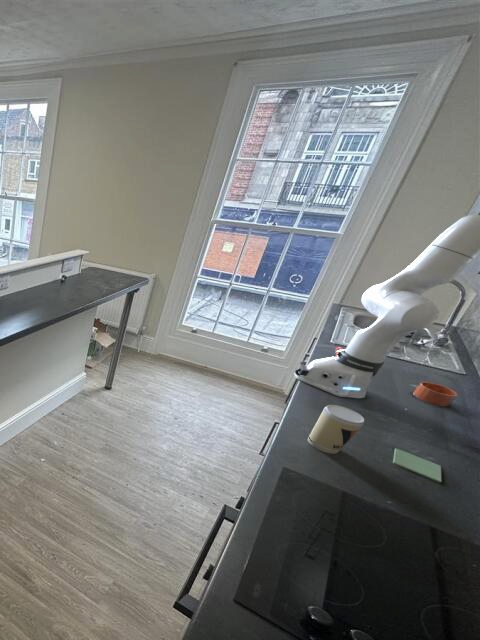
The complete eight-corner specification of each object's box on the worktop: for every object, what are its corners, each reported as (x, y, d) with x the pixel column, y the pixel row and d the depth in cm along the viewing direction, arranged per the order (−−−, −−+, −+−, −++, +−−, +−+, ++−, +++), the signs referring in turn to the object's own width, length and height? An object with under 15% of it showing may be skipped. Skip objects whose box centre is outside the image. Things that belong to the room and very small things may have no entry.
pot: (411, 398, 152) (420, 387, 149) (412, 389, 158) (420, 379, 155) (448, 410, 146) (458, 399, 143) (447, 401, 152) (457, 390, 150)
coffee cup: (332, 459, 116) (356, 426, 110) (298, 439, 123) (319, 407, 116) (347, 450, 120) (372, 418, 113) (313, 432, 127) (334, 401, 120)
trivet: (392, 463, 116) (394, 462, 116) (394, 449, 122) (395, 448, 122) (440, 483, 110) (441, 481, 110) (439, 466, 117) (440, 465, 116)
